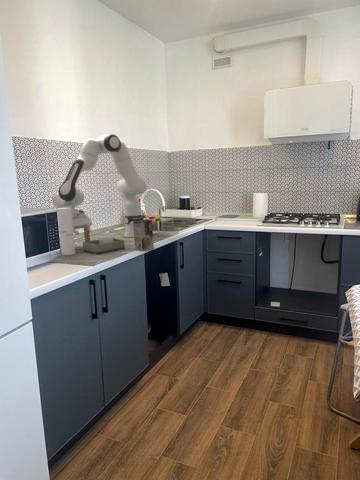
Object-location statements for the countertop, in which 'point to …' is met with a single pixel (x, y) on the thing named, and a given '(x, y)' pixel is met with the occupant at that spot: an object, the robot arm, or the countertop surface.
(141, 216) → the robot arm
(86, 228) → the brown wooden cylinder
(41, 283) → the countertop surface
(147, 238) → the coffee box
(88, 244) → the grey open box
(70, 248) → the cylindrical container
